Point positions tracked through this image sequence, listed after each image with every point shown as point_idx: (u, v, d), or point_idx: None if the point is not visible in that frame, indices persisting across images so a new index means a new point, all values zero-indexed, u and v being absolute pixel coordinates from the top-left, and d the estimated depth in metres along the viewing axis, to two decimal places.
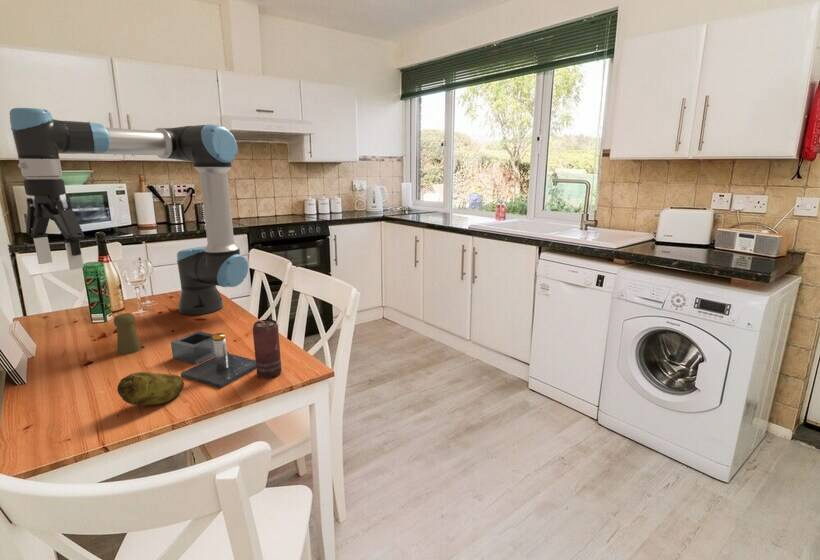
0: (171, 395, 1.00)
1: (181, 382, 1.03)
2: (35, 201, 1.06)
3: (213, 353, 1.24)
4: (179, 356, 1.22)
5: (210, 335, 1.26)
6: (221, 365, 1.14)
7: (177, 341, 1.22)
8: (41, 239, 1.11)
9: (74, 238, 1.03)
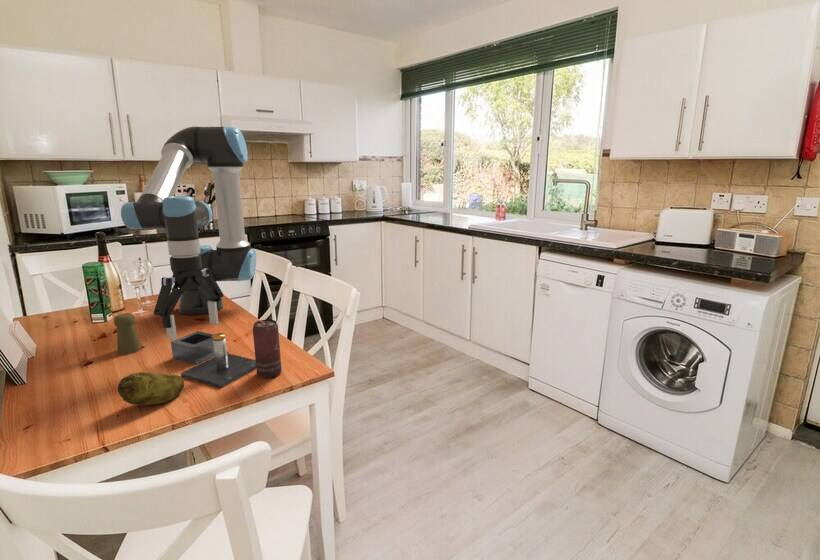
0: (171, 395, 1.00)
1: (181, 382, 1.03)
2: None
3: (213, 353, 1.24)
4: (179, 356, 1.22)
5: (210, 335, 1.26)
6: (221, 365, 1.14)
7: (177, 341, 1.22)
8: (210, 303, 1.27)
9: (154, 313, 1.13)
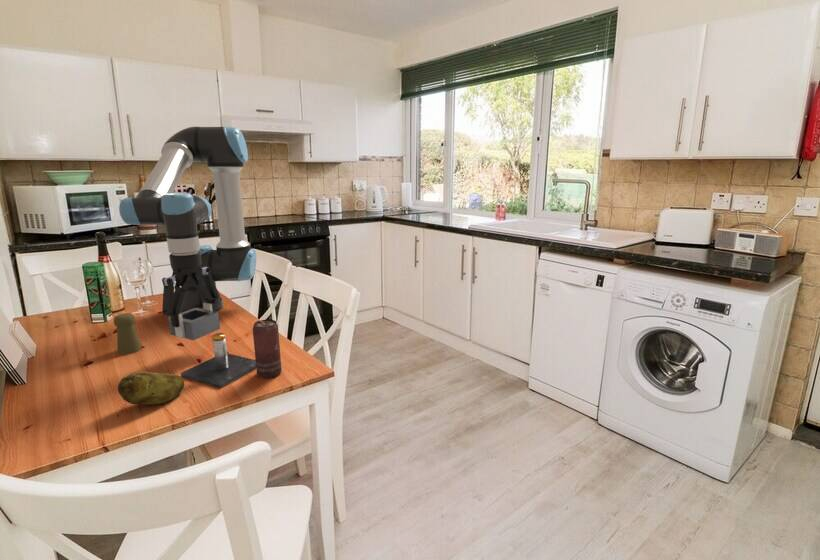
0: (171, 395, 1.00)
1: (181, 382, 1.03)
2: None
3: (211, 329, 1.23)
4: None
5: (208, 311, 1.25)
6: (221, 365, 1.14)
7: None
8: (206, 305, 1.26)
9: (163, 313, 1.15)
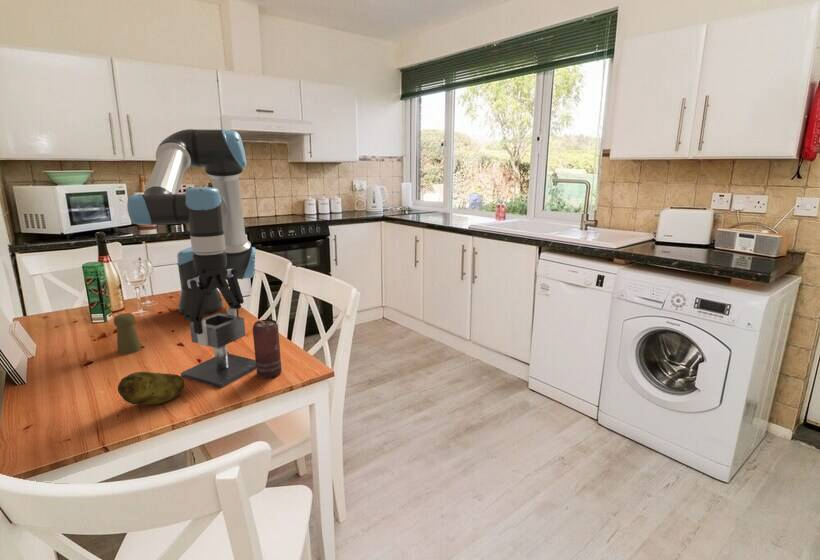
0: (171, 395, 1.00)
1: (181, 382, 1.03)
2: None
3: (236, 336, 1.13)
4: None
5: (232, 317, 1.15)
6: (221, 365, 1.14)
7: None
8: (230, 310, 1.16)
9: (185, 319, 1.05)
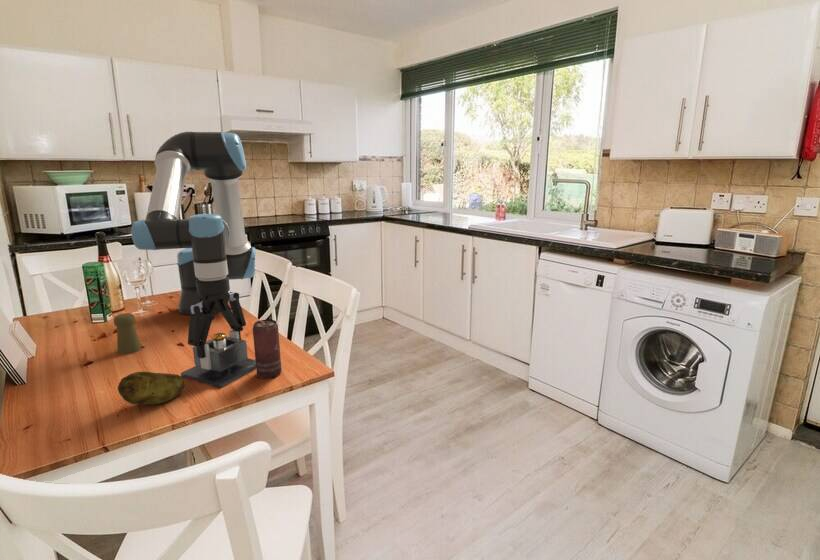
0: (172, 395, 1.00)
1: (182, 382, 1.03)
2: None
3: (238, 359, 1.15)
4: None
5: (235, 340, 1.17)
6: None
7: None
8: (232, 333, 1.18)
9: None
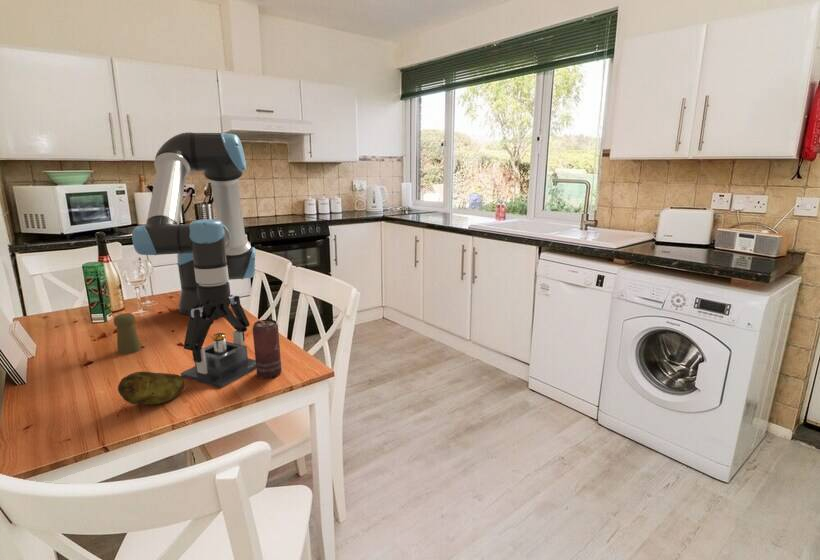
0: (172, 395, 1.00)
1: (182, 382, 1.03)
2: None
3: (239, 365, 1.15)
4: None
5: (235, 345, 1.17)
6: None
7: None
8: (236, 333, 1.19)
9: (184, 348, 1.06)
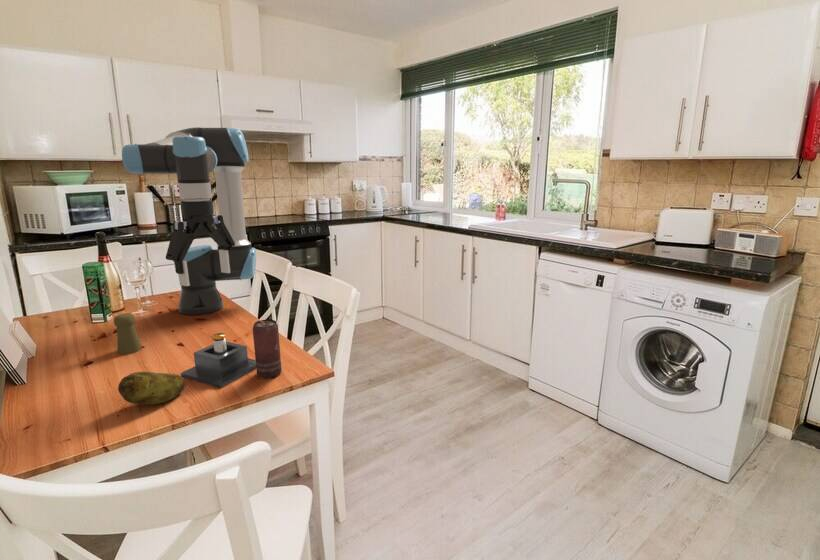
0: (172, 395, 1.00)
1: (182, 382, 1.03)
2: None
3: (239, 365, 1.15)
4: (203, 368, 1.12)
5: (235, 345, 1.17)
6: None
7: (200, 352, 1.13)
8: (222, 251, 1.24)
9: (166, 258, 1.09)
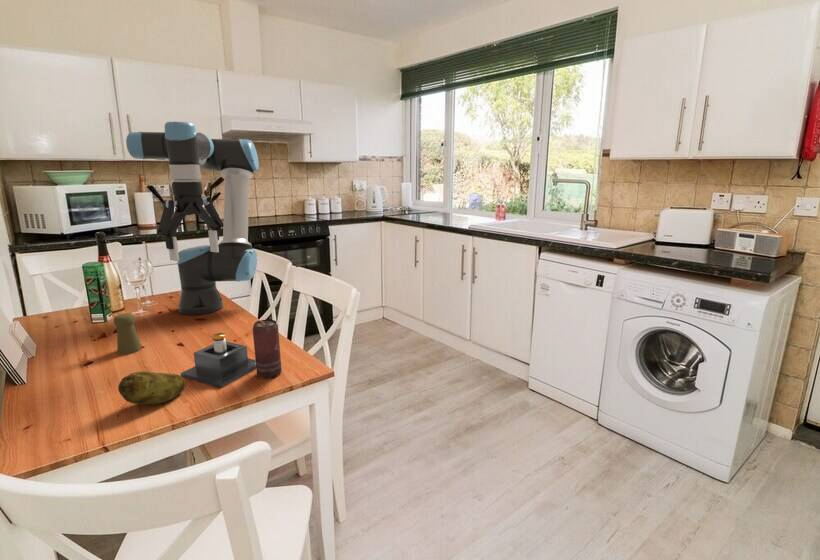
0: (172, 395, 1.00)
1: (182, 382, 1.03)
2: None
3: (239, 365, 1.15)
4: (203, 368, 1.12)
5: (235, 345, 1.17)
6: None
7: (200, 352, 1.13)
8: (211, 231, 1.32)
9: (157, 234, 1.18)
